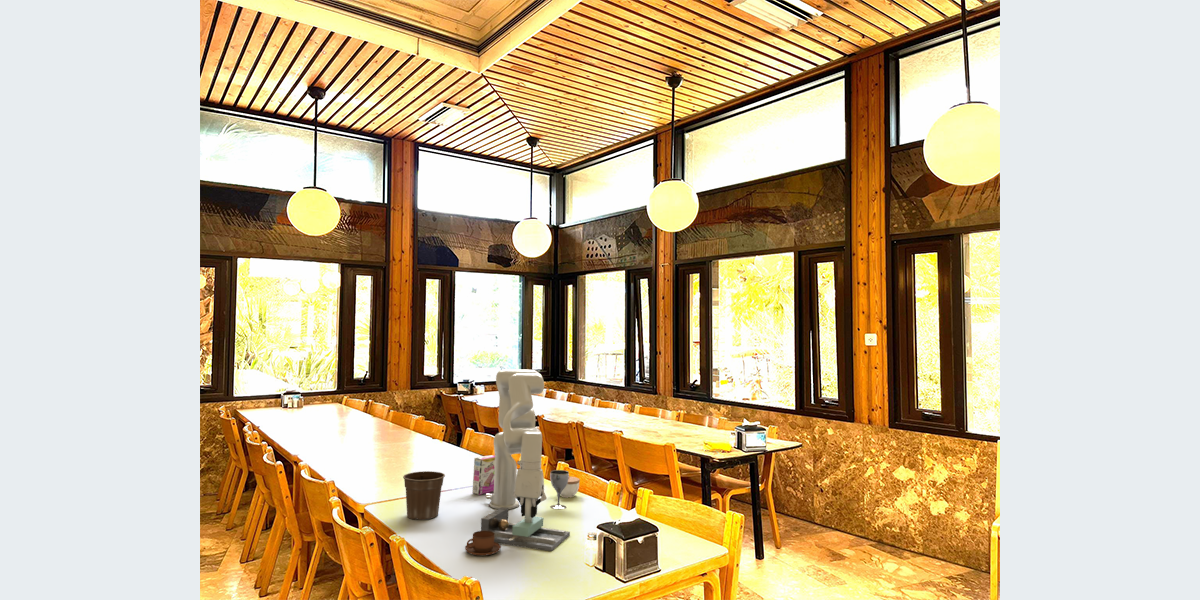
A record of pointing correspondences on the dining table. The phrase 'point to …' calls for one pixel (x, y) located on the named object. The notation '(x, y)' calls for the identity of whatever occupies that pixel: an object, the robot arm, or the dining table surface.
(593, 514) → the dining table surface
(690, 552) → the dining table surface
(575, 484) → the lidded jar
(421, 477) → the plant pot
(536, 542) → the press base
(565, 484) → the wine glass
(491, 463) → the candy bar box
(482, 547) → the cup and saucer
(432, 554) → the dining table surface
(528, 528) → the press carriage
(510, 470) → the robot arm
